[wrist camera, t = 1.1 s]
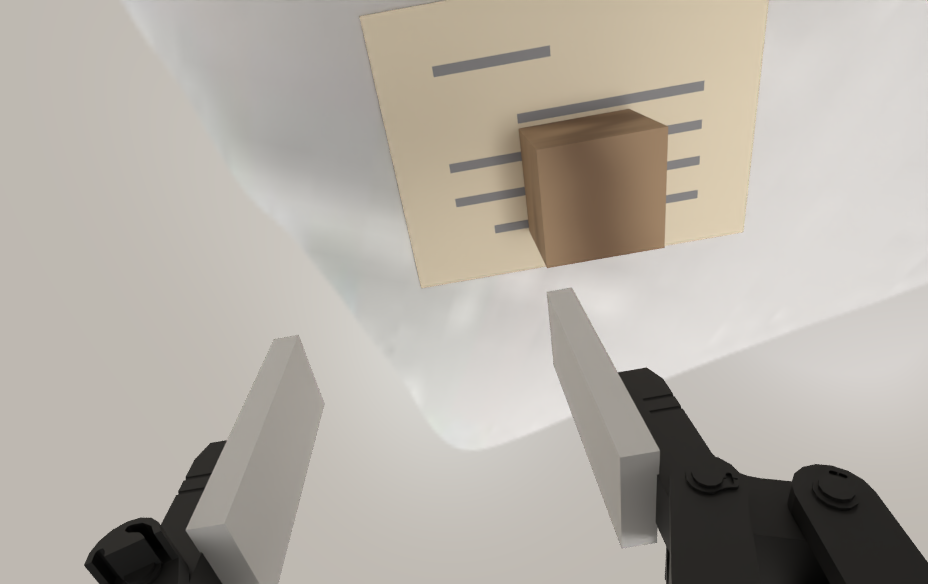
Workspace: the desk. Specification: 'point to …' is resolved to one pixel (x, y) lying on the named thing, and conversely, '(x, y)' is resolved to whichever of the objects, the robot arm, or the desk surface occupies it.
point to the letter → (558, 111)
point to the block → (595, 186)
